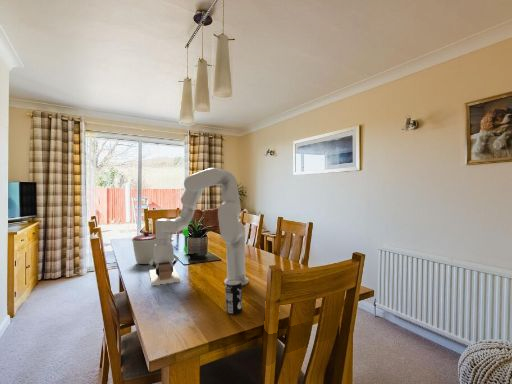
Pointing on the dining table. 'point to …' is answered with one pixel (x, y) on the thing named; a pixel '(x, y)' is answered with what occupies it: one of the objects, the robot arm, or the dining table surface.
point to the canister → (144, 247)
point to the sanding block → (165, 271)
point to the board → (157, 281)
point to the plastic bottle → (186, 236)
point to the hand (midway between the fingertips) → (164, 274)
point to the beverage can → (233, 296)
